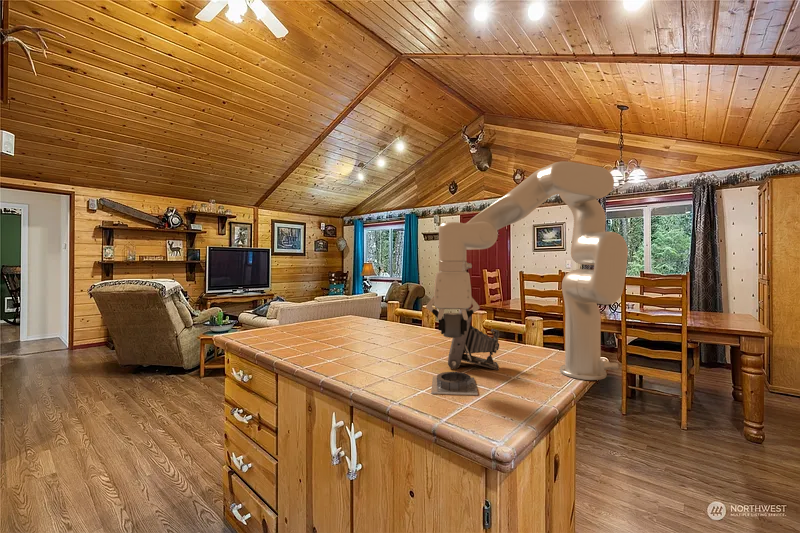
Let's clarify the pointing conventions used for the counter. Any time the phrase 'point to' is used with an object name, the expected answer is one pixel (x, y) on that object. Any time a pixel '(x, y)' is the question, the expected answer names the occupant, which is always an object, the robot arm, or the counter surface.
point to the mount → (453, 384)
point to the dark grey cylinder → (452, 325)
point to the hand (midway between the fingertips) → (452, 332)
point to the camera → (473, 347)
